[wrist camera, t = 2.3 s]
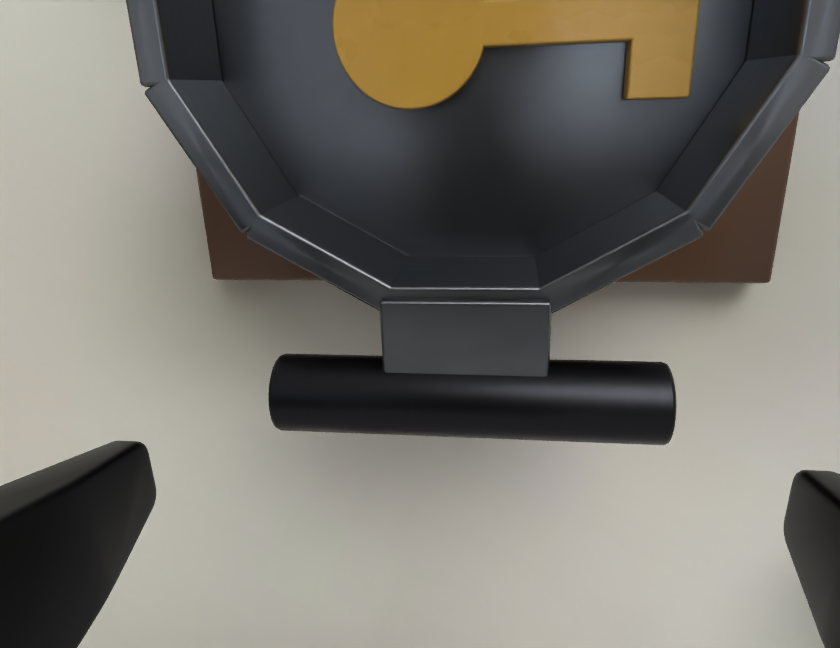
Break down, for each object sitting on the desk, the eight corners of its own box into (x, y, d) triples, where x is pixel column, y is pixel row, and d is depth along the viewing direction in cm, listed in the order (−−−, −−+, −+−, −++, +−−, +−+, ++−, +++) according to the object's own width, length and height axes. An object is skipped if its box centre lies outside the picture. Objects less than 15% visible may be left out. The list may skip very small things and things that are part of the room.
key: (342, 111, 11) (338, 112, 11) (331, -53, 10) (325, -59, 10) (683, 101, 11) (690, 101, 10) (702, -78, 10) (710, -84, 9)
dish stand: (225, 271, 16) (165, 311, 13) (141, -301, 12) (28, -422, 9) (757, 273, 14) (820, 320, 11) (866, -392, 10) (1002, -574, 7)
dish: (250, 371, 14) (187, 441, 11) (150, -343, 10) (8, -516, 7) (717, 383, 13) (776, 465, 10) (839, -437, 8) (1003, -693, 6)
